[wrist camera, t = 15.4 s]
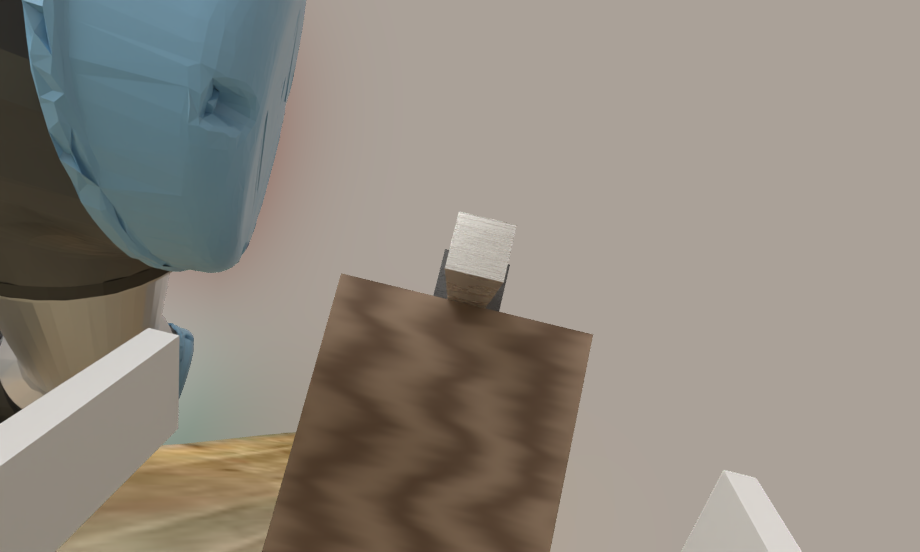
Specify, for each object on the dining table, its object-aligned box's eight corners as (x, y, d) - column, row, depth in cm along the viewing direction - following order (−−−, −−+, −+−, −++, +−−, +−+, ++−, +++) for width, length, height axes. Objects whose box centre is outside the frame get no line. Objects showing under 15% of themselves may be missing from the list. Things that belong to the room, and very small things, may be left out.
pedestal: (221, 693, 34) (341, 273, 39) (305, 570, 54) (378, 300, 59) (506, 768, 34) (592, 334, 39) (486, 616, 54) (545, 341, 58)
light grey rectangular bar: (415, 261, 25) (439, 167, 26) (434, 308, 51) (446, 261, 51) (532, 289, 25) (554, 195, 26) (492, 322, 51) (503, 275, 51)
